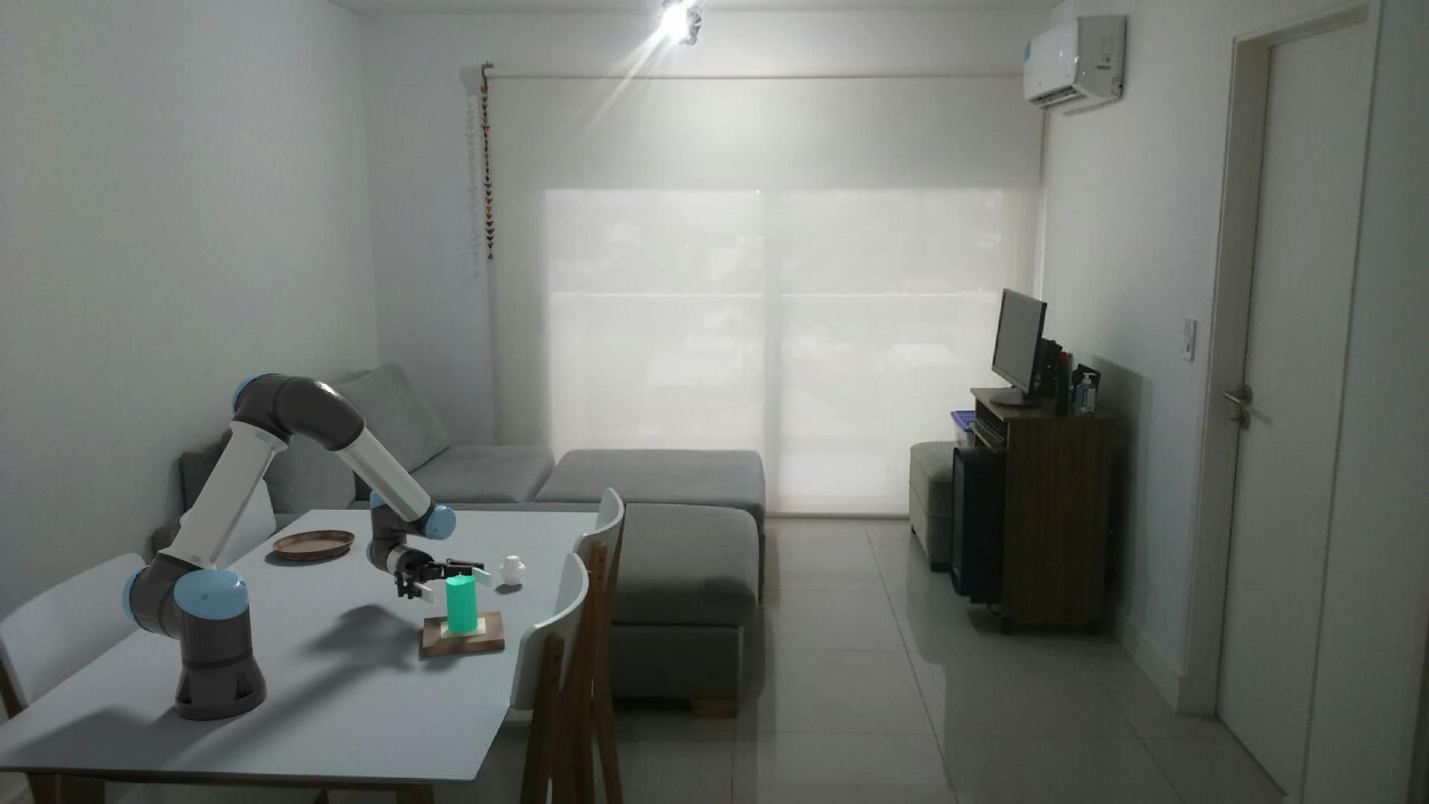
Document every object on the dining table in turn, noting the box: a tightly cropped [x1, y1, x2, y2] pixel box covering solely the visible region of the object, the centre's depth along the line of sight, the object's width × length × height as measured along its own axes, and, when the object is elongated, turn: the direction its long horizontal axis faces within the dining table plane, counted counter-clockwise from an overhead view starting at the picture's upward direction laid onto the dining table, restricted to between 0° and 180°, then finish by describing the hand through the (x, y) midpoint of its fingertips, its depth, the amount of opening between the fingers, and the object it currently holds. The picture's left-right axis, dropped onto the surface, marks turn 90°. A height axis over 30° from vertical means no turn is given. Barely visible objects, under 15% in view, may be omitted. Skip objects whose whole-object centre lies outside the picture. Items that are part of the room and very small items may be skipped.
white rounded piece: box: [498, 555, 526, 587], centre depth 253 cm, size 6×6×7 cm
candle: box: [445, 572, 478, 633], centre depth 219 cm, size 6×6×12 cm
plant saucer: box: [271, 529, 356, 561], centre depth 280 cm, size 21×21×3 cm
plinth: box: [422, 610, 506, 657], centre depth 221 cm, size 16×16×2 cm
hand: (461, 588), depth 219 cm, fingers open, 13 cm apart
